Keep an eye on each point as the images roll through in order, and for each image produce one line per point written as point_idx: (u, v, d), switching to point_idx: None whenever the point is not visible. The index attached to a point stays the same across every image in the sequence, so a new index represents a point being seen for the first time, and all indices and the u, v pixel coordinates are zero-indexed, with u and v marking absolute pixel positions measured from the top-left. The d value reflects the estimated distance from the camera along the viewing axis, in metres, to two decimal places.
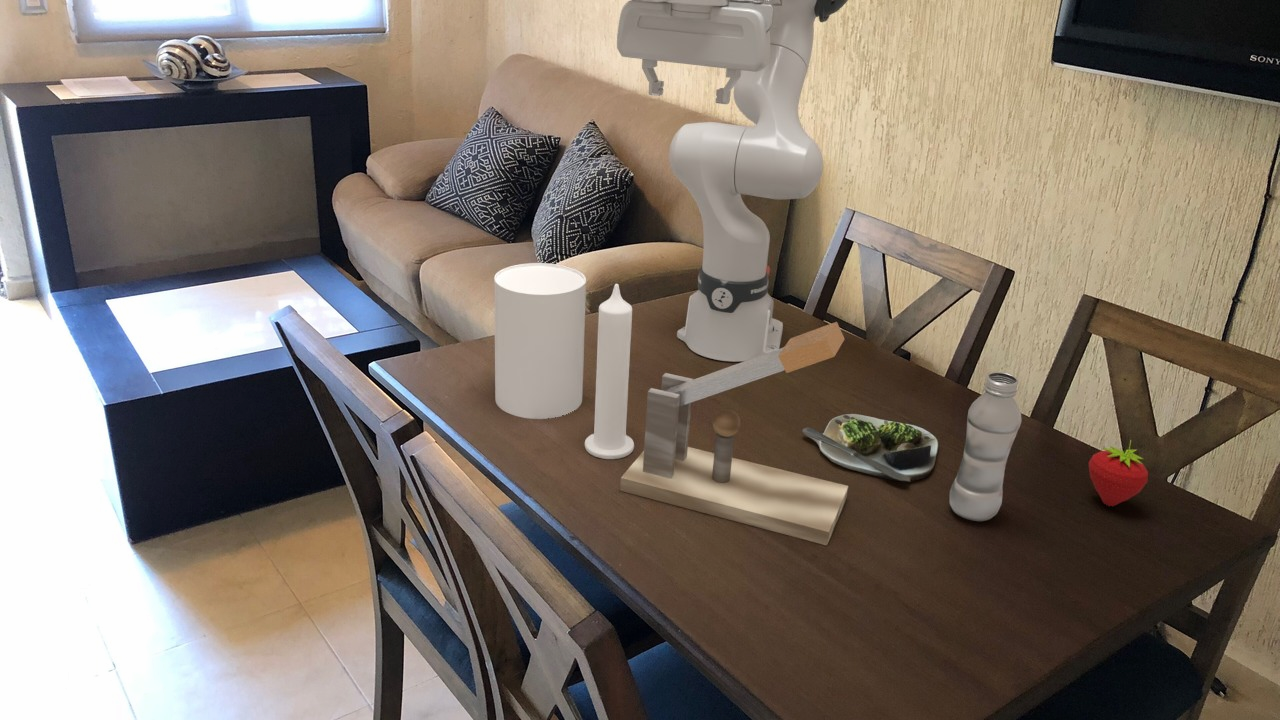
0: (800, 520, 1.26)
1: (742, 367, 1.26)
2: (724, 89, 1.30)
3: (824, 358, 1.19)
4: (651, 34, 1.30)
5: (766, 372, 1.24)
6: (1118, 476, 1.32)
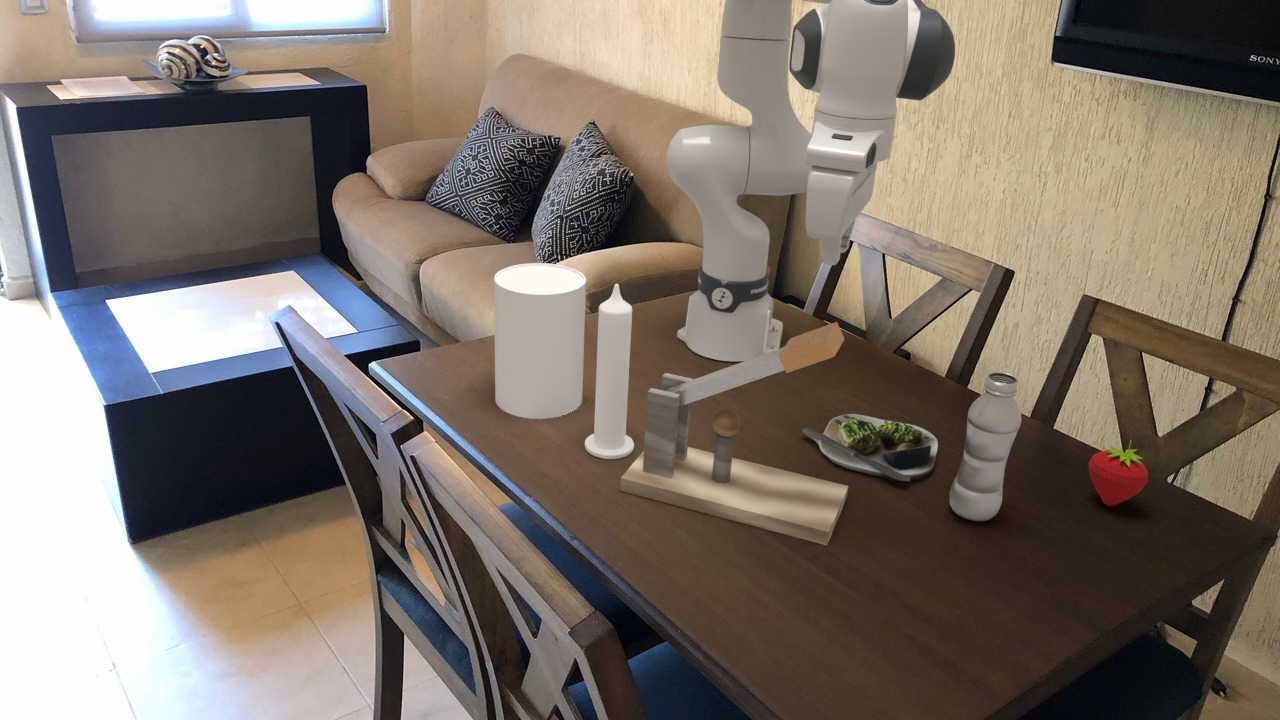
0: (800, 520, 1.26)
1: (742, 367, 1.26)
2: (850, 235, 1.18)
3: (824, 358, 1.19)
4: (850, 203, 1.09)
5: (766, 372, 1.24)
6: (1118, 476, 1.32)
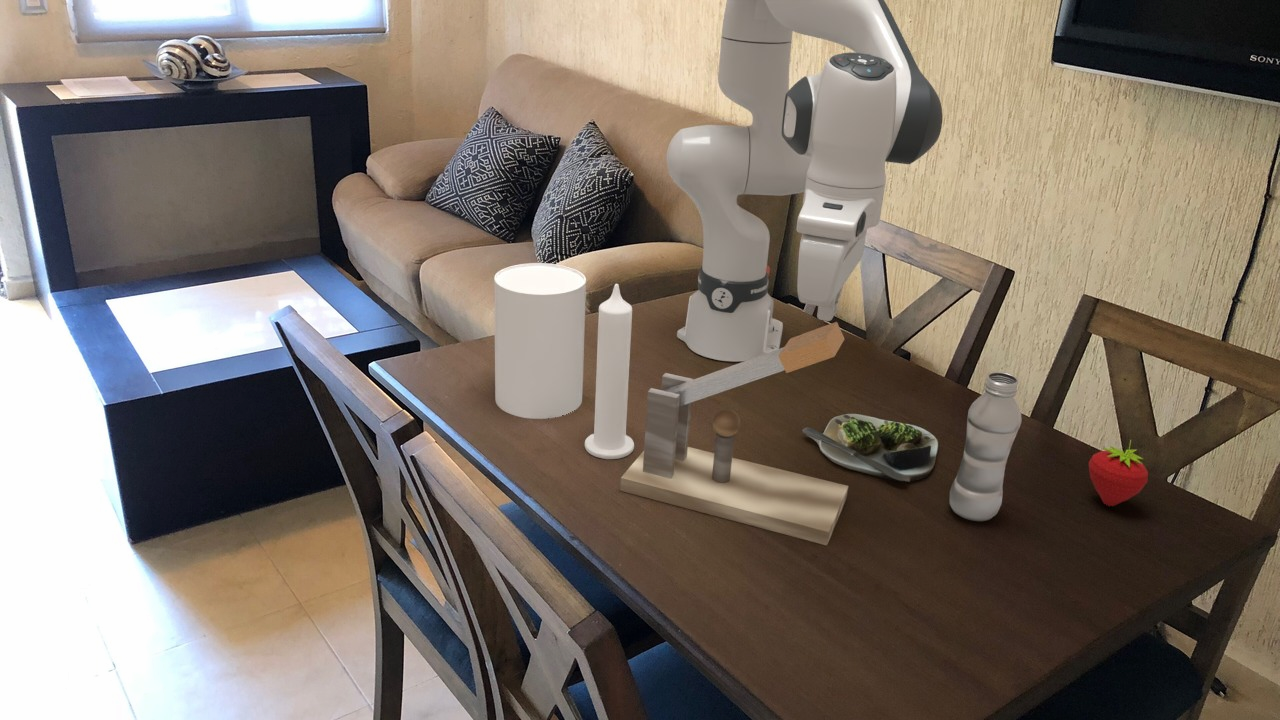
0: (800, 520, 1.26)
1: (742, 367, 1.26)
2: (838, 299, 1.20)
3: (824, 358, 1.19)
4: (841, 268, 1.12)
5: (766, 372, 1.24)
6: (1118, 476, 1.32)
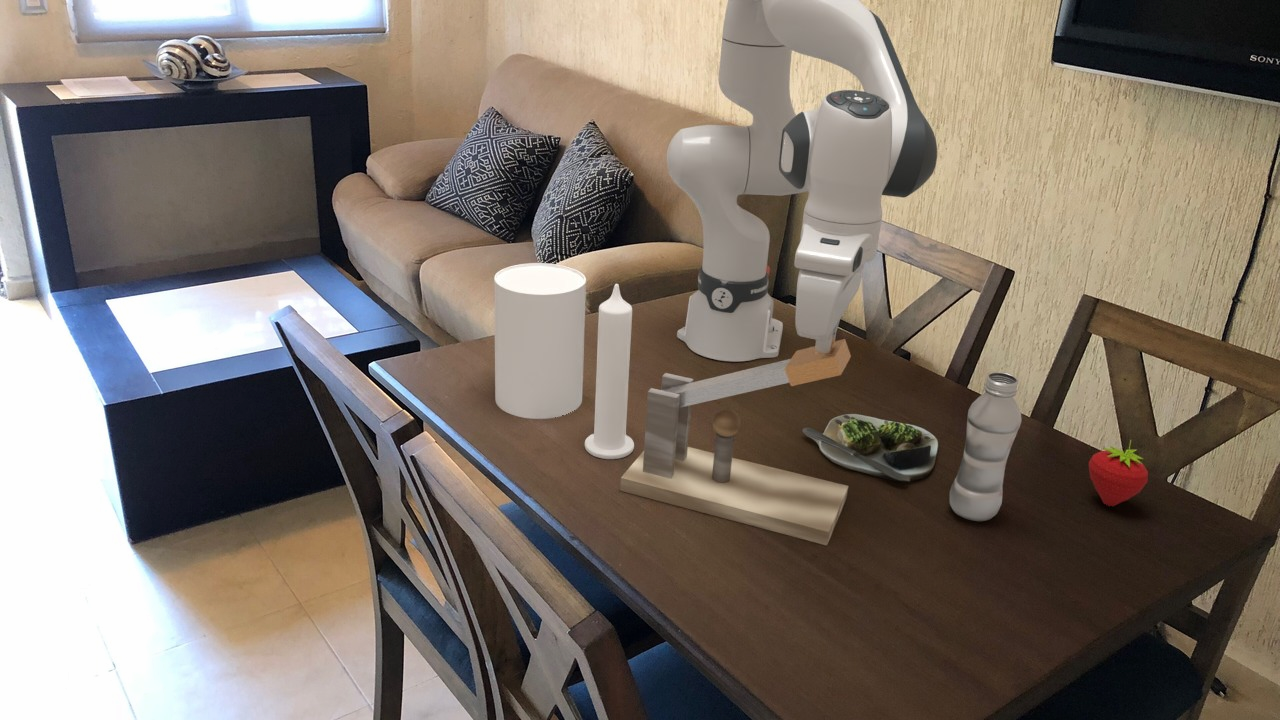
0: (800, 520, 1.26)
1: (746, 375, 1.26)
2: (835, 331, 1.21)
3: (830, 375, 1.19)
4: (838, 302, 1.13)
5: (770, 383, 1.24)
6: (1118, 476, 1.32)
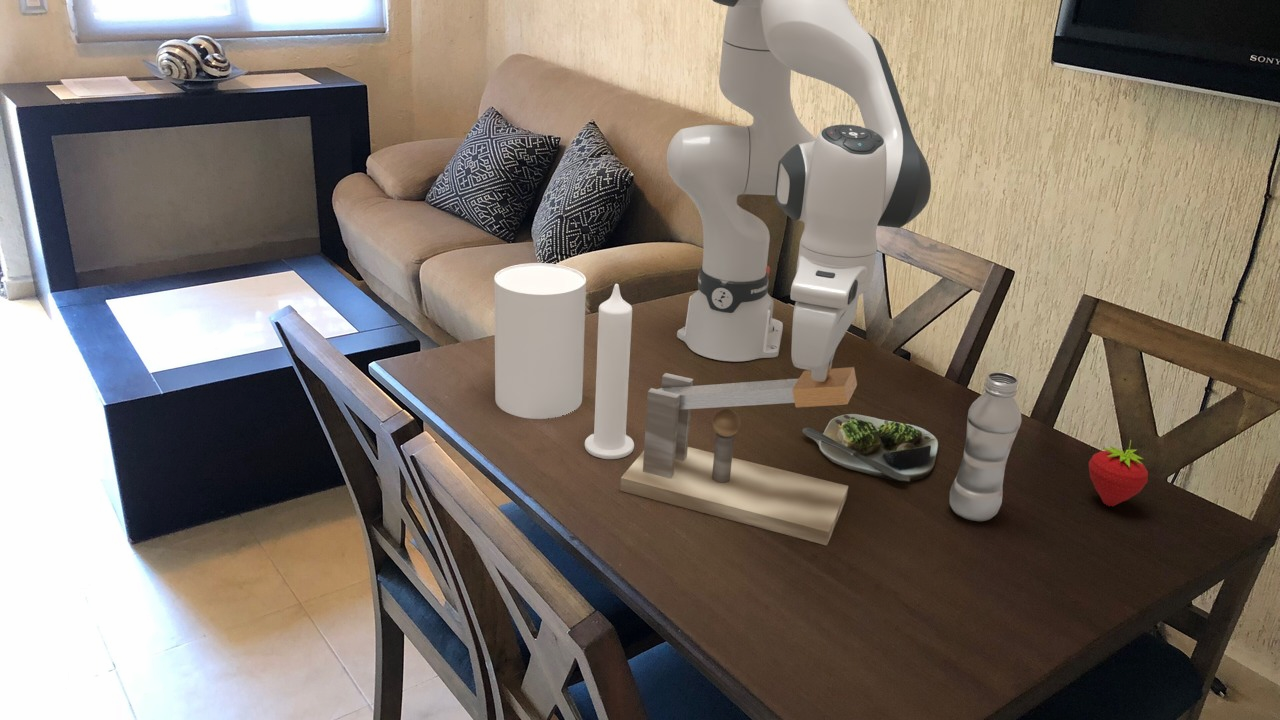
0: (800, 520, 1.26)
1: (751, 389, 1.26)
2: (831, 360, 1.23)
3: (837, 403, 1.20)
4: (834, 333, 1.15)
5: (774, 400, 1.25)
6: (1118, 476, 1.32)
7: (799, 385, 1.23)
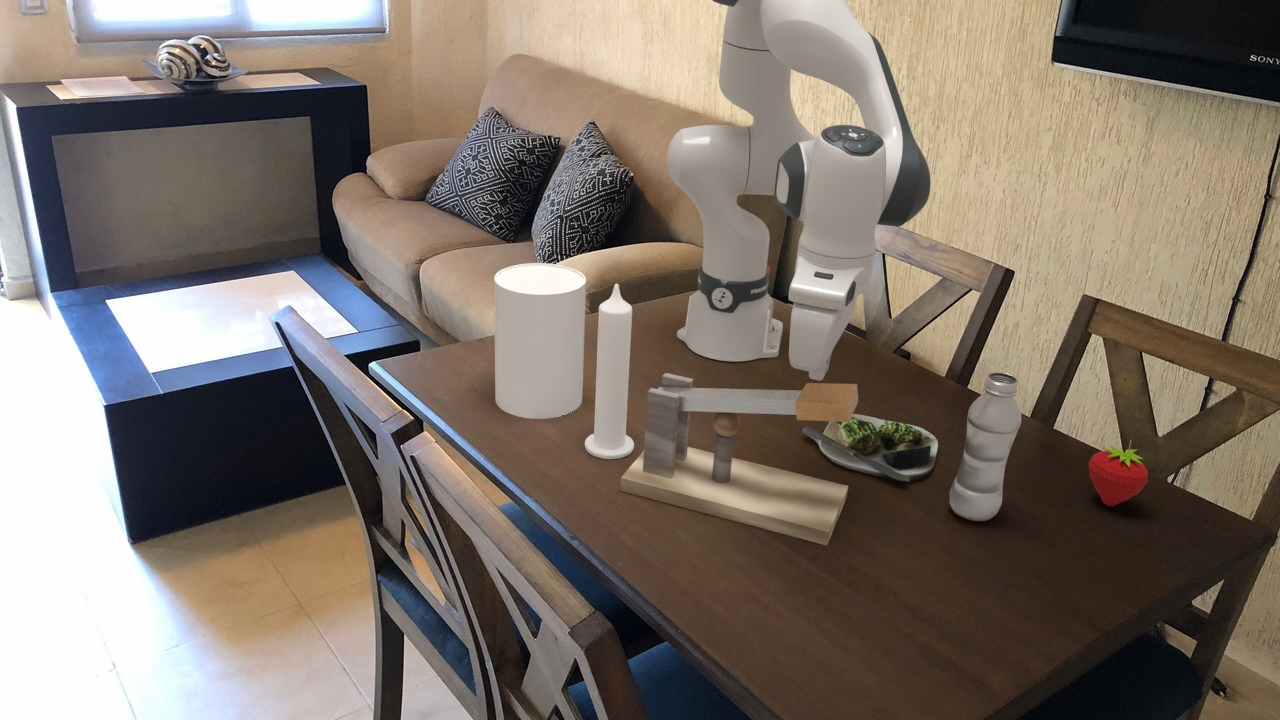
0: (800, 520, 1.26)
1: (753, 397, 1.27)
2: (829, 359, 1.23)
3: (838, 420, 1.21)
4: (832, 334, 1.15)
5: (776, 410, 1.26)
6: (1118, 476, 1.32)
7: (802, 398, 1.23)
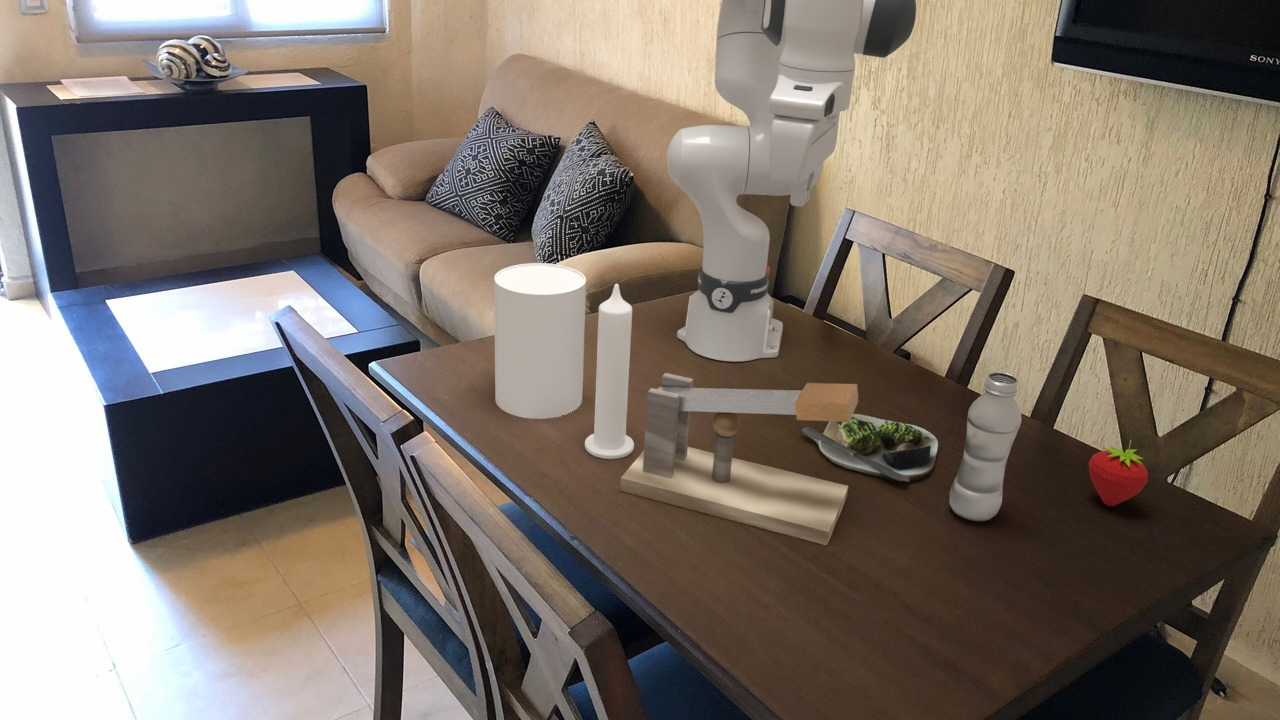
0: (800, 520, 1.26)
1: (753, 397, 1.27)
2: (810, 187, 1.25)
3: (838, 420, 1.21)
4: (811, 150, 1.17)
5: (776, 410, 1.26)
6: (1118, 476, 1.32)
7: (802, 398, 1.23)
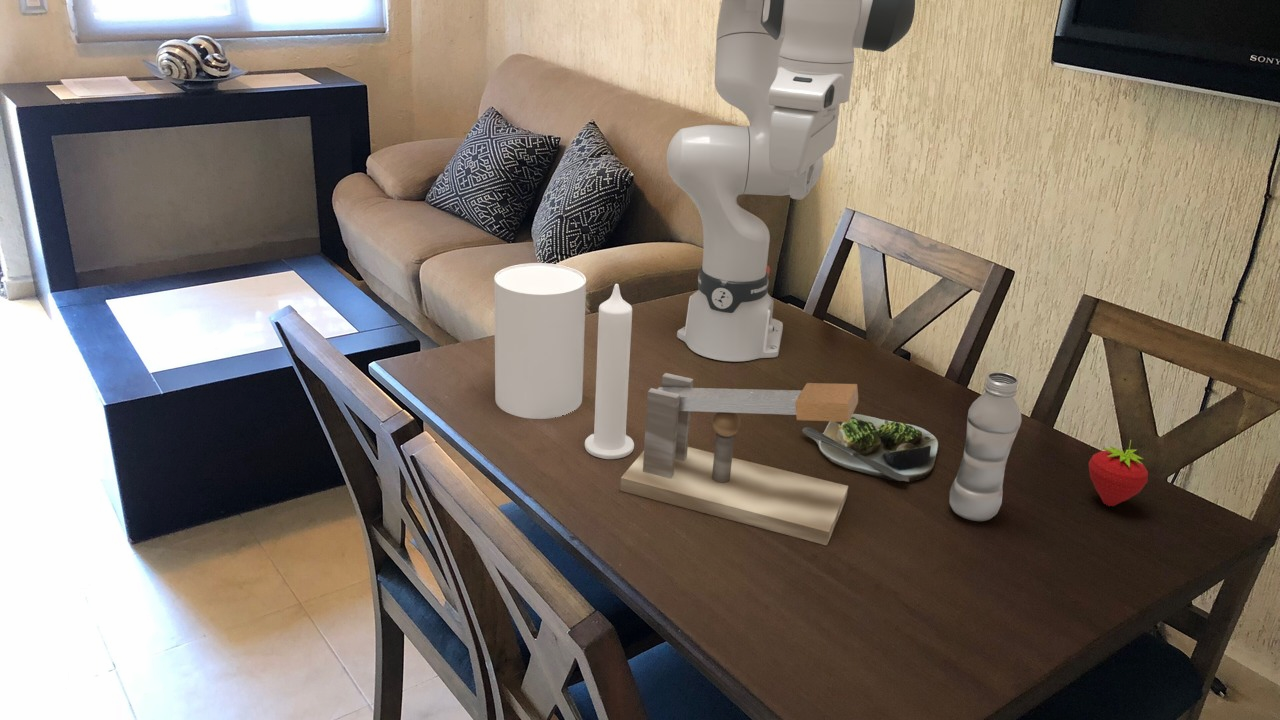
0: (800, 520, 1.26)
1: (753, 397, 1.27)
2: (810, 180, 1.25)
3: (838, 420, 1.21)
4: (811, 142, 1.17)
5: (776, 410, 1.26)
6: (1118, 476, 1.32)
7: (802, 398, 1.23)
